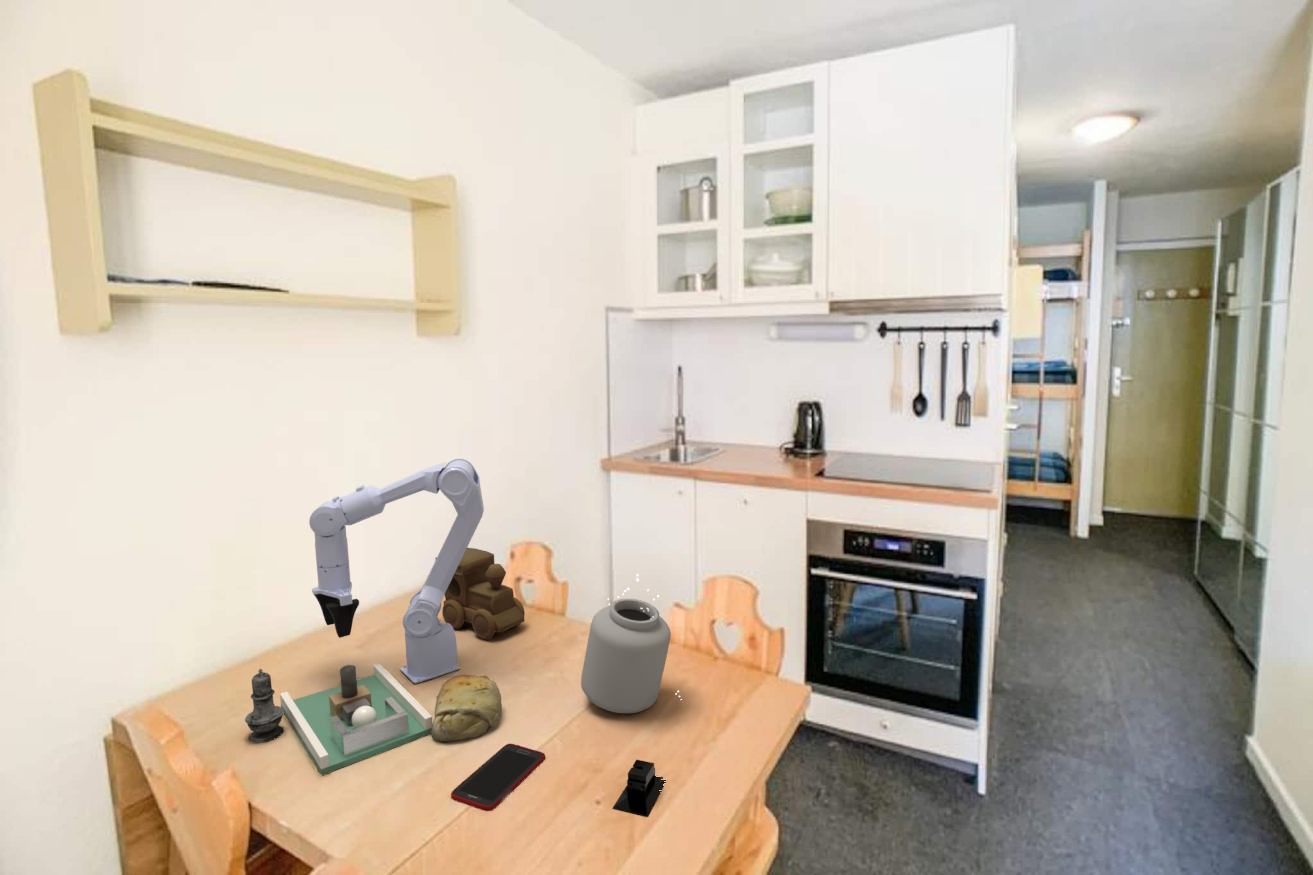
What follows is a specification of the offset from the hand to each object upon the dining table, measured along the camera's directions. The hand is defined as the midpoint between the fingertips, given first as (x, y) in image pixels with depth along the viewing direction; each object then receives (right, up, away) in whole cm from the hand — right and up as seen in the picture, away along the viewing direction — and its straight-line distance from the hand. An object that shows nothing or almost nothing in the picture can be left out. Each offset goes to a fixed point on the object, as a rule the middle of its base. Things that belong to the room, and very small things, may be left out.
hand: (338, 629), depth 139 cm
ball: (+13, -10, -18) cm, 25 cm away
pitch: (+9, -12, -14) cm, 21 cm away
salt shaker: (-4, -13, -18) cm, 23 cm away
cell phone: (+39, -15, -30) cm, 51 cm away
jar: (+58, -12, -8) cm, 60 cm away
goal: (+14, -12, -20) cm, 28 cm away
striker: (+9, -11, -14) cm, 20 cm away
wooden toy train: (+22, -7, +26) cm, 35 cm away
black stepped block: (+61, -16, -34) cm, 71 cm away
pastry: (+29, -13, -14) cm, 35 cm away
